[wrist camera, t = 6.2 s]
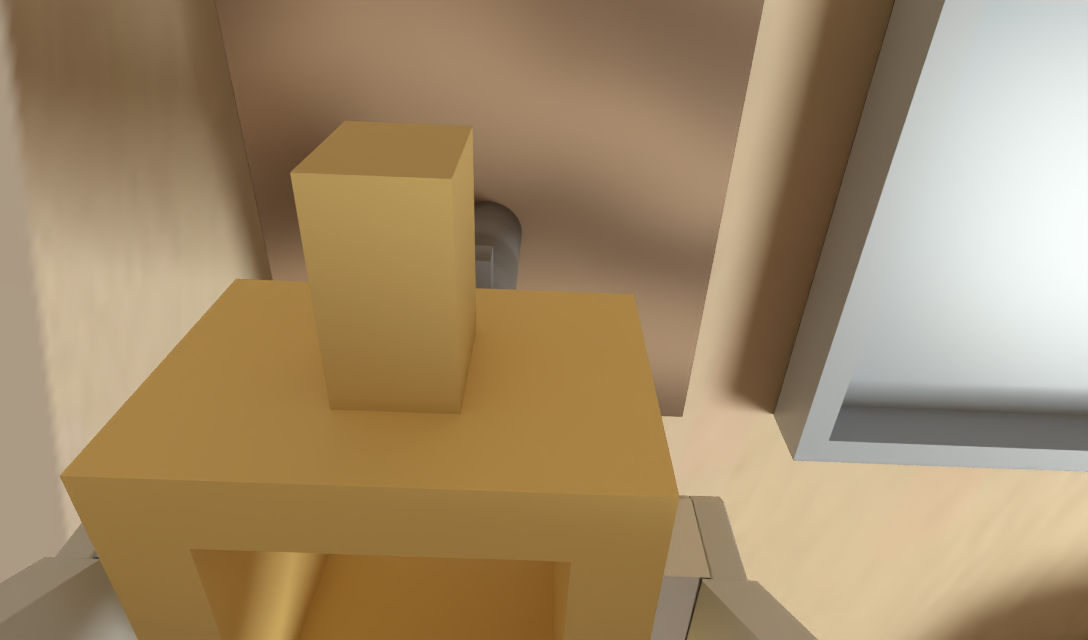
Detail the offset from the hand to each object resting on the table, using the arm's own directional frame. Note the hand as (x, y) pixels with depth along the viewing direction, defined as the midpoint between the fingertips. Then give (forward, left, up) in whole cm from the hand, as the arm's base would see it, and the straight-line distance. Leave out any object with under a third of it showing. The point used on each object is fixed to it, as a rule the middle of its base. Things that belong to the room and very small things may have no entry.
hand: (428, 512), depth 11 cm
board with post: (0, 0, -12) cm, 12 cm away
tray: (0, -19, -12) cm, 23 cm away
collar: (+1, 0, -2) cm, 2 cm away
